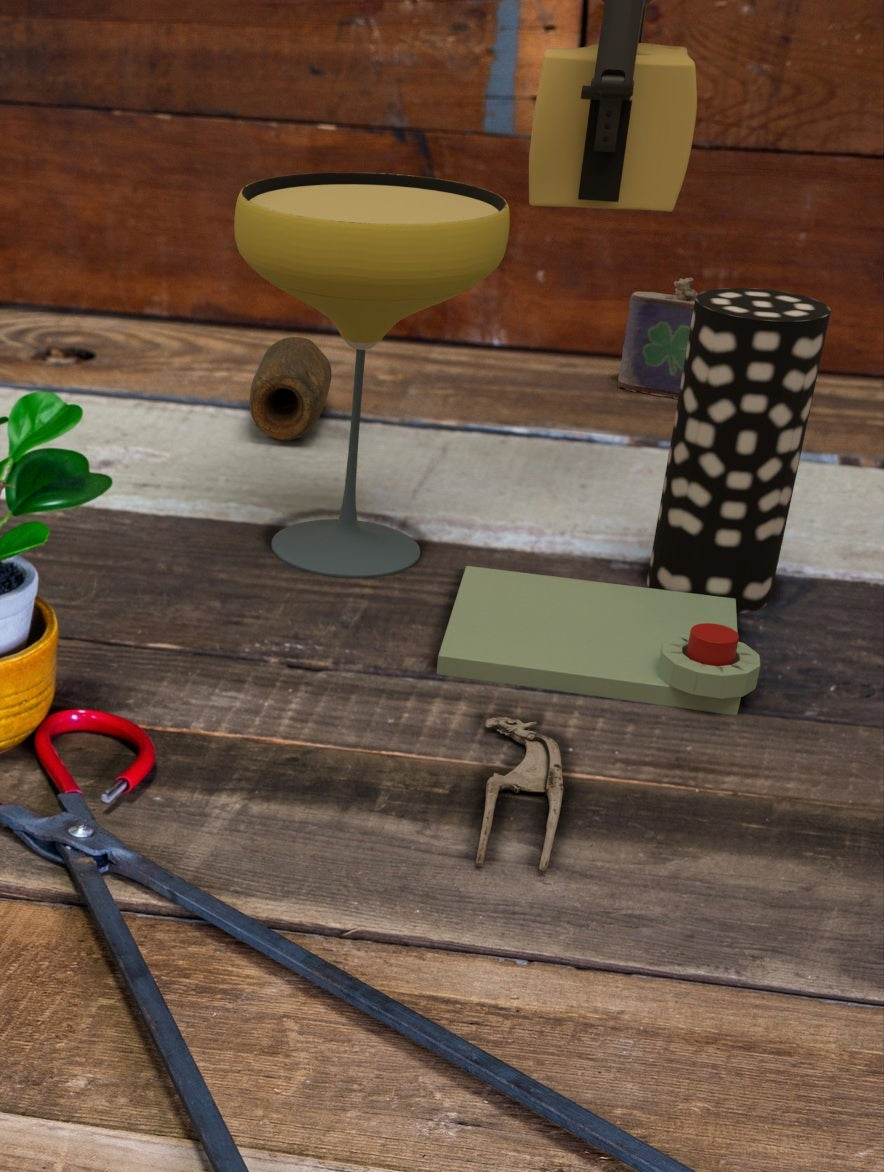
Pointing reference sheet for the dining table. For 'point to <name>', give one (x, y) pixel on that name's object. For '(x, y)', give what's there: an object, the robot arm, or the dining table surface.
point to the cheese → (652, 133)
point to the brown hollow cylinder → (290, 388)
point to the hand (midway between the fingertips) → (602, 185)
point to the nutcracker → (526, 780)
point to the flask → (657, 340)
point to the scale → (592, 640)
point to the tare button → (712, 644)
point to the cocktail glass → (365, 301)
